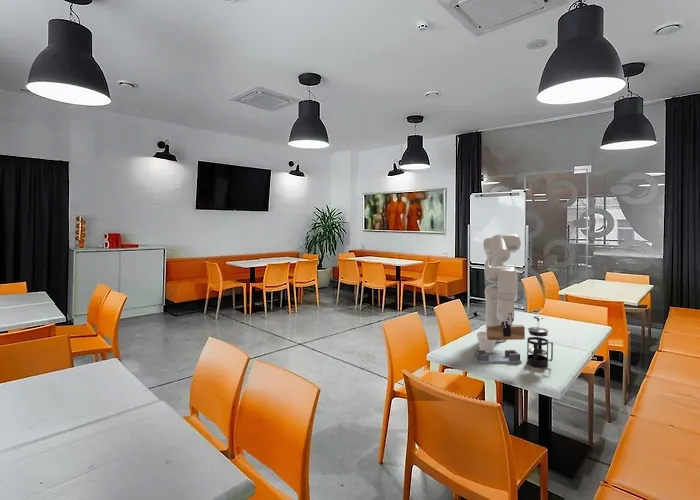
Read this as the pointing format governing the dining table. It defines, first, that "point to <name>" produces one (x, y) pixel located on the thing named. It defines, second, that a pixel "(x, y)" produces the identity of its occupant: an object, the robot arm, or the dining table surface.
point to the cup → (485, 342)
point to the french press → (538, 347)
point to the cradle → (497, 357)
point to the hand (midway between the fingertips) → (505, 334)
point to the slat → (497, 332)
